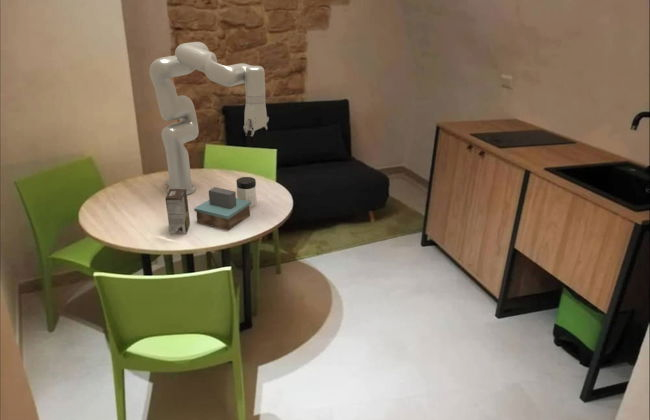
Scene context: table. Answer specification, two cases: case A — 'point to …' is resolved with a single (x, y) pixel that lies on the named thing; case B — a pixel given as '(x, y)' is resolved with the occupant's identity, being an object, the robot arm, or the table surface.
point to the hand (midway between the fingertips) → (257, 142)
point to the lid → (222, 203)
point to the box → (223, 219)
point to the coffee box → (177, 211)
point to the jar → (247, 189)
